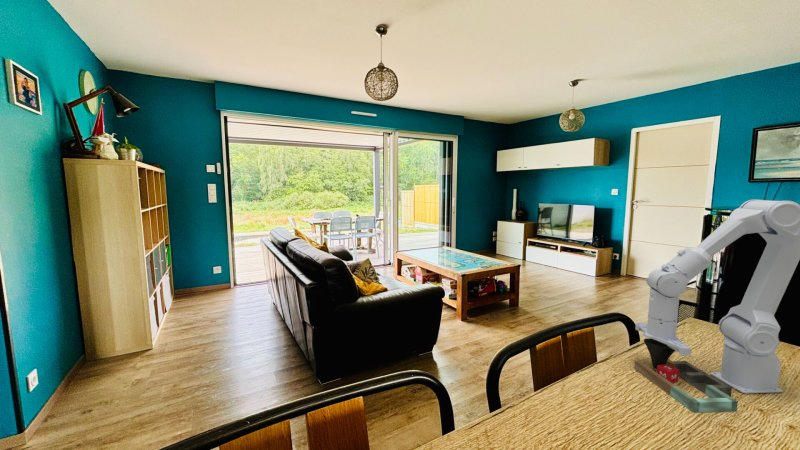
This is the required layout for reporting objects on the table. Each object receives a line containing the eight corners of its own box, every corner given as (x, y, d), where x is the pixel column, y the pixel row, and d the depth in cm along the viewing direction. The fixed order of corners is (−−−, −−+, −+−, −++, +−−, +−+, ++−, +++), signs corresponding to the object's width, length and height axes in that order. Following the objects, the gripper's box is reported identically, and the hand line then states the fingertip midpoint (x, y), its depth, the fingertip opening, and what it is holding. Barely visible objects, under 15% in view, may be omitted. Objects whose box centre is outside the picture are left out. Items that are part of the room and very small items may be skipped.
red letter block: (656, 376, 81) (657, 365, 81) (665, 374, 82) (666, 363, 82) (668, 383, 78) (669, 371, 78) (678, 381, 79) (679, 369, 79)
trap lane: (682, 367, 85) (683, 359, 85) (753, 410, 69) (754, 400, 68) (634, 368, 85) (634, 360, 85) (693, 412, 68) (694, 402, 68)
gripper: (626, 307, 88) (622, 354, 90) (671, 330, 74) (667, 386, 75) (651, 306, 88) (647, 353, 90) (701, 329, 74) (696, 385, 76)
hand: (658, 368), depth 83 cm, fingers closed
